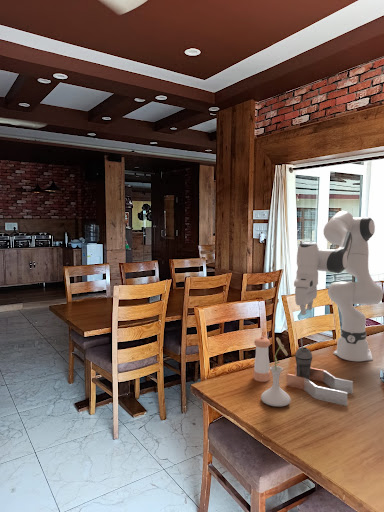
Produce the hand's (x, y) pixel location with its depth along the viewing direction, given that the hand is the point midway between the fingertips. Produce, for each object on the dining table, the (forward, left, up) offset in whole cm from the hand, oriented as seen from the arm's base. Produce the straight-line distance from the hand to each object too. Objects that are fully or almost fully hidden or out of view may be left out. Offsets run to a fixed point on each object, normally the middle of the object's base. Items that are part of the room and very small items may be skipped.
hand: (306, 311), depth 164 cm
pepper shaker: (+6, -18, -32) cm, 37 cm away
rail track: (+4, +6, -31) cm, 32 cm away
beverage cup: (+1, -1, -32) cm, 32 cm away
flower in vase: (+24, -5, -32) cm, 40 cm away
